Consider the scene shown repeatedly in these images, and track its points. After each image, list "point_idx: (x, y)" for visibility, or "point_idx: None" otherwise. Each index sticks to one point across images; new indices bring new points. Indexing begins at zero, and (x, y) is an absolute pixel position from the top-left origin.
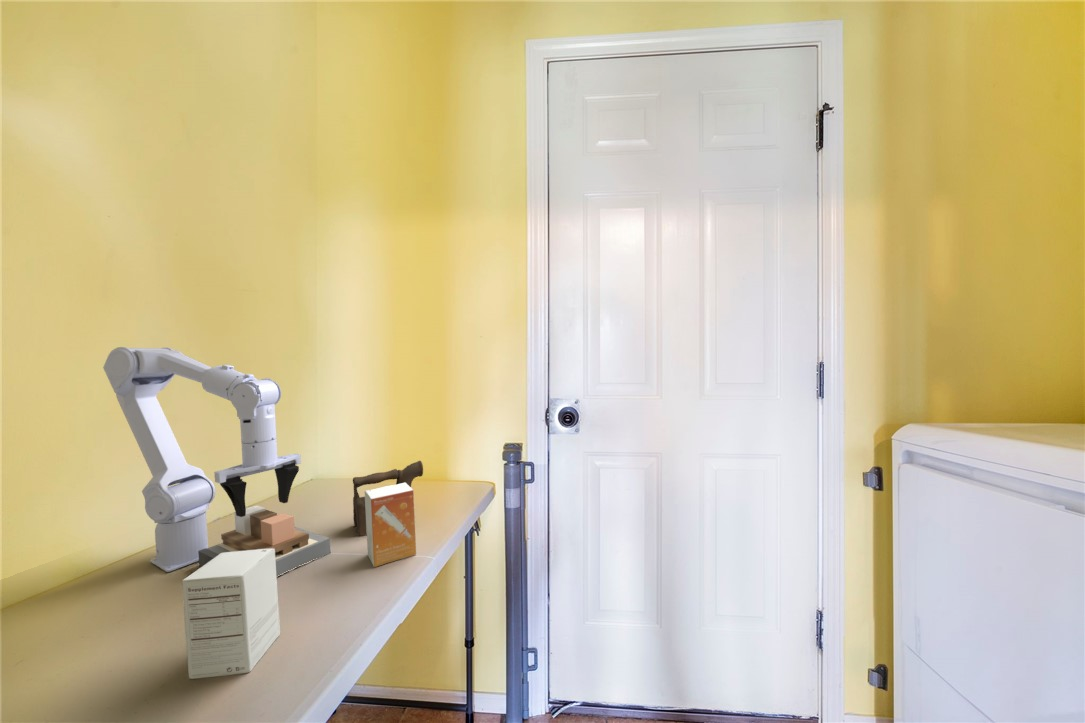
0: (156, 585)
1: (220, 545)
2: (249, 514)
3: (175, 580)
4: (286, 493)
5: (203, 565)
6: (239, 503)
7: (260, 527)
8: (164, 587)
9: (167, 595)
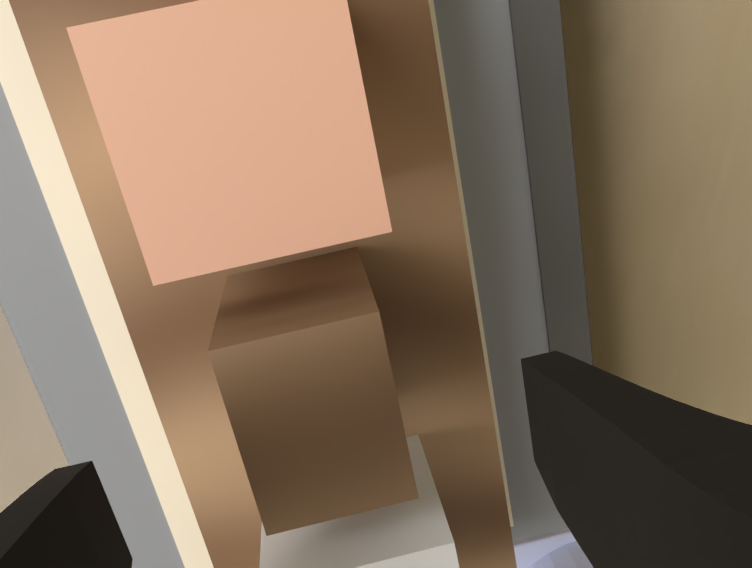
0: (739, 396)
1: (508, 508)
2: (405, 546)
3: (677, 385)
4: (15, 526)
5: None
6: (672, 399)
7: (367, 281)
8: (727, 343)
9: (747, 233)
